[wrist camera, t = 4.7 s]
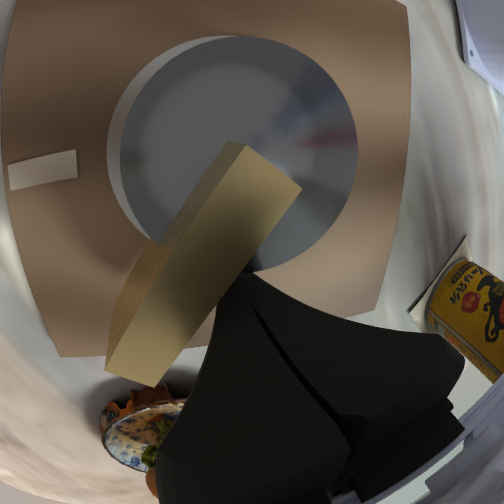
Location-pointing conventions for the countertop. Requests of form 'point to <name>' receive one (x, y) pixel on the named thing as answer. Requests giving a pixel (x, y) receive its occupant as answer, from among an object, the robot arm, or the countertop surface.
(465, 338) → the condiment
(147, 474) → the plate of food
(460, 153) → the countertop surface
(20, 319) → the countertop surface
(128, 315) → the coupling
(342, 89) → the post base
